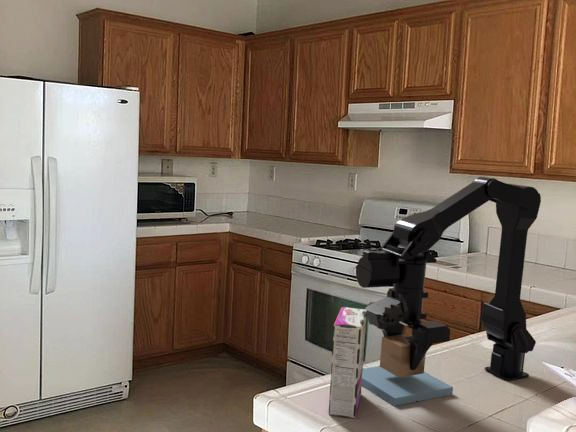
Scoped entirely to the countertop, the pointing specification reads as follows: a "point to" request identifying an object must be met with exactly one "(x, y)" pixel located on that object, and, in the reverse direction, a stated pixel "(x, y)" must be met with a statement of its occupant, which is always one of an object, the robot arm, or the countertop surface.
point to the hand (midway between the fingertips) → (402, 363)
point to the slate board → (403, 386)
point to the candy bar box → (347, 362)
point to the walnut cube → (398, 356)
